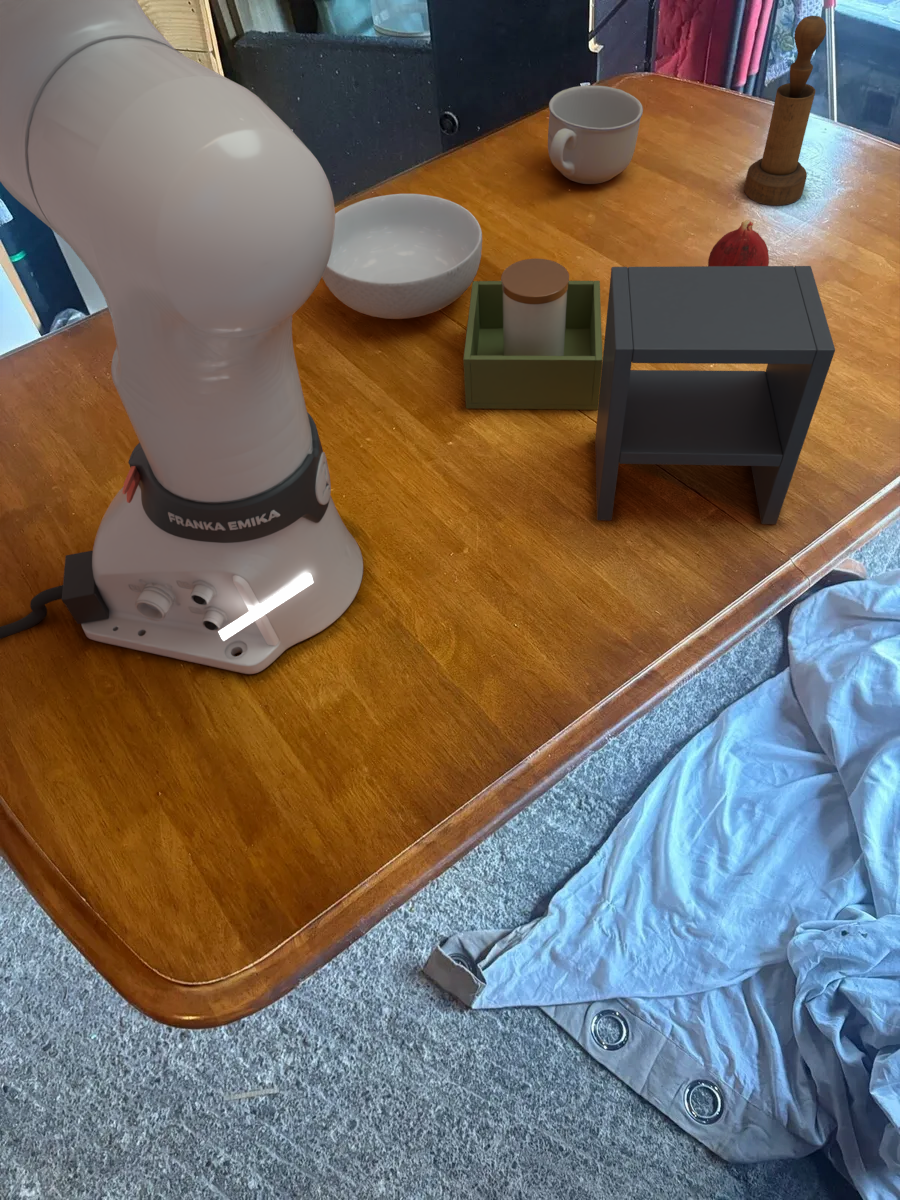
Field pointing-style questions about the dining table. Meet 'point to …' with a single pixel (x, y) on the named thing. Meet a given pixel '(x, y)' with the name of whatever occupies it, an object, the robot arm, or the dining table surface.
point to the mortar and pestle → (788, 126)
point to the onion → (740, 248)
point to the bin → (533, 376)
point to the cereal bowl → (403, 255)
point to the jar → (534, 308)
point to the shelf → (711, 373)
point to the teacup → (592, 132)
